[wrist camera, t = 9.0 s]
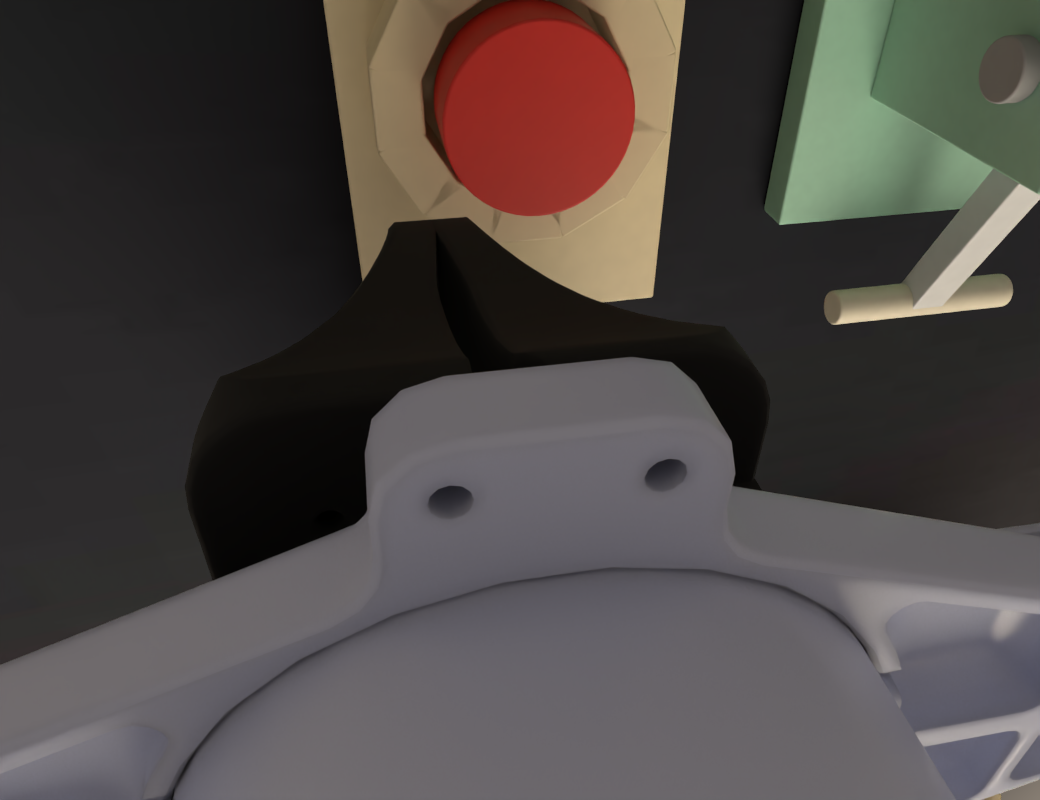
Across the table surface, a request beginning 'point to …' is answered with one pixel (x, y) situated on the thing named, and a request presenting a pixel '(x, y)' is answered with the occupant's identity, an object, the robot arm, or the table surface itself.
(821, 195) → the bracket
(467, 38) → the red button
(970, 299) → the lever
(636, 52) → the button housing
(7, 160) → the table surface
